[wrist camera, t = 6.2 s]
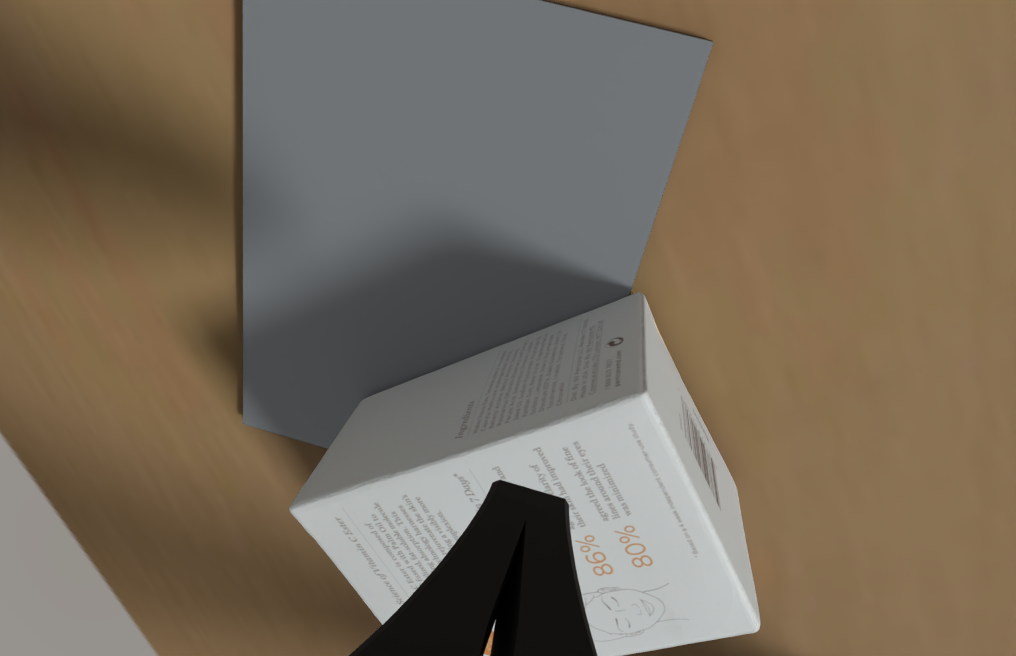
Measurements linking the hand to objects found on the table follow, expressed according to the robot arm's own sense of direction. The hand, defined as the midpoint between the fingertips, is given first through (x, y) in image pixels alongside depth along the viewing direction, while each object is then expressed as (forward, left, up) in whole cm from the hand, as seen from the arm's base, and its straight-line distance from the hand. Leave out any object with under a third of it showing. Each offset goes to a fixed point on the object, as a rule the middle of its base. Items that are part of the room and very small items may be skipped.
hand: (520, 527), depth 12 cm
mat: (+5, 0, -9) cm, 10 cm away
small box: (-5, +1, -6) cm, 8 cm away
